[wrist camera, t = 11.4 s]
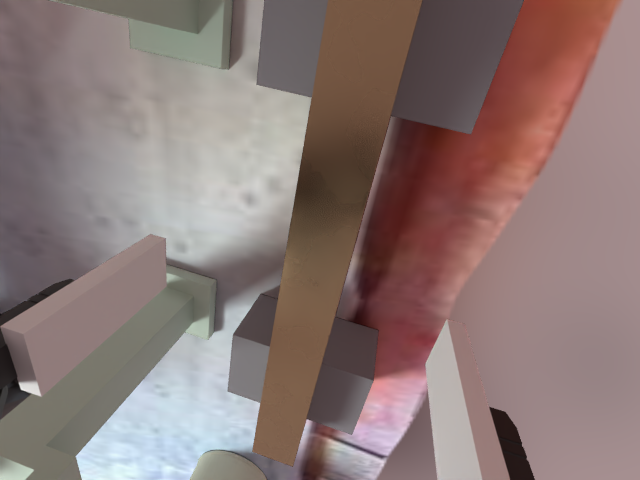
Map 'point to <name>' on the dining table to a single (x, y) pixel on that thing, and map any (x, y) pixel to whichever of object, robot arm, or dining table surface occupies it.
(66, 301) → the robot arm
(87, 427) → the forked stands
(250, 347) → the rubber blocks
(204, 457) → the can
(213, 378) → the dining table surface
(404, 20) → the rail
